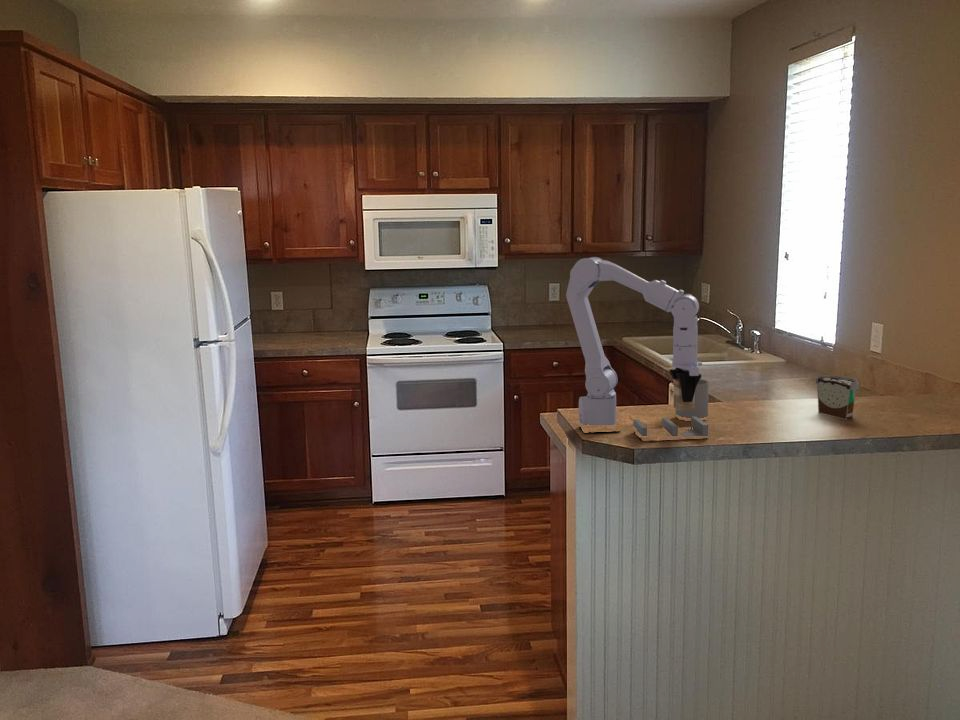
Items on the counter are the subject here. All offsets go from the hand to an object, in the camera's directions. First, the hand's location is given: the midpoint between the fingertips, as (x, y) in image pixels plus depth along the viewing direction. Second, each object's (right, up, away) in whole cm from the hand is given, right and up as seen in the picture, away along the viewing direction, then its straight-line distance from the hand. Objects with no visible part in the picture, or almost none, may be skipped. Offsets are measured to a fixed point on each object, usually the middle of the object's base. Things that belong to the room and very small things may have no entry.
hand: (684, 399), depth 190 cm
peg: (0, -2, 0) cm, 2 cm away
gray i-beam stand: (-3, -9, +1) cm, 10 cm away
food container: (+46, -5, +16) cm, 49 cm away
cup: (+7, -6, +19) cm, 21 cm away
